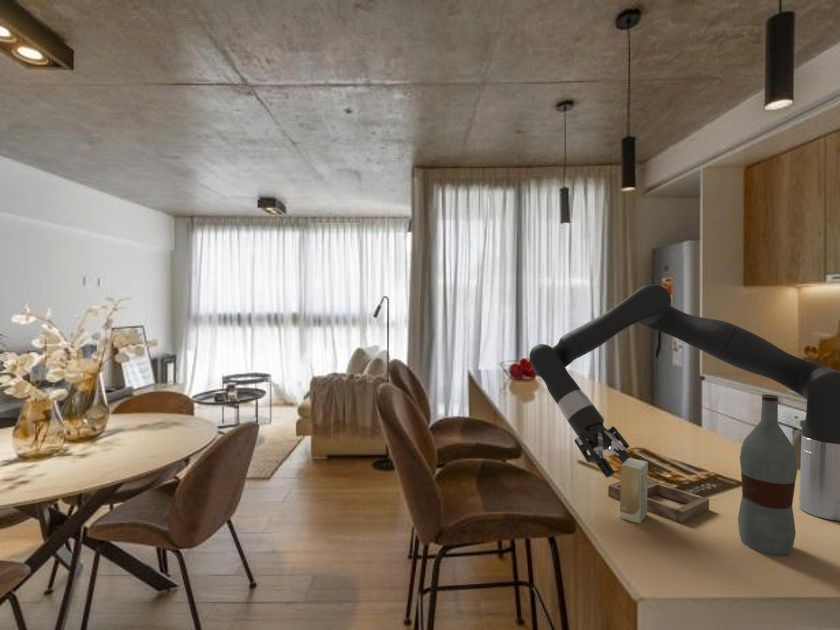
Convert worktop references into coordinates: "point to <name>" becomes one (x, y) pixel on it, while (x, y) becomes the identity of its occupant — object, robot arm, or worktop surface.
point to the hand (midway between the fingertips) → (621, 471)
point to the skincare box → (633, 490)
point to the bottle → (768, 485)
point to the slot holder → (682, 514)
